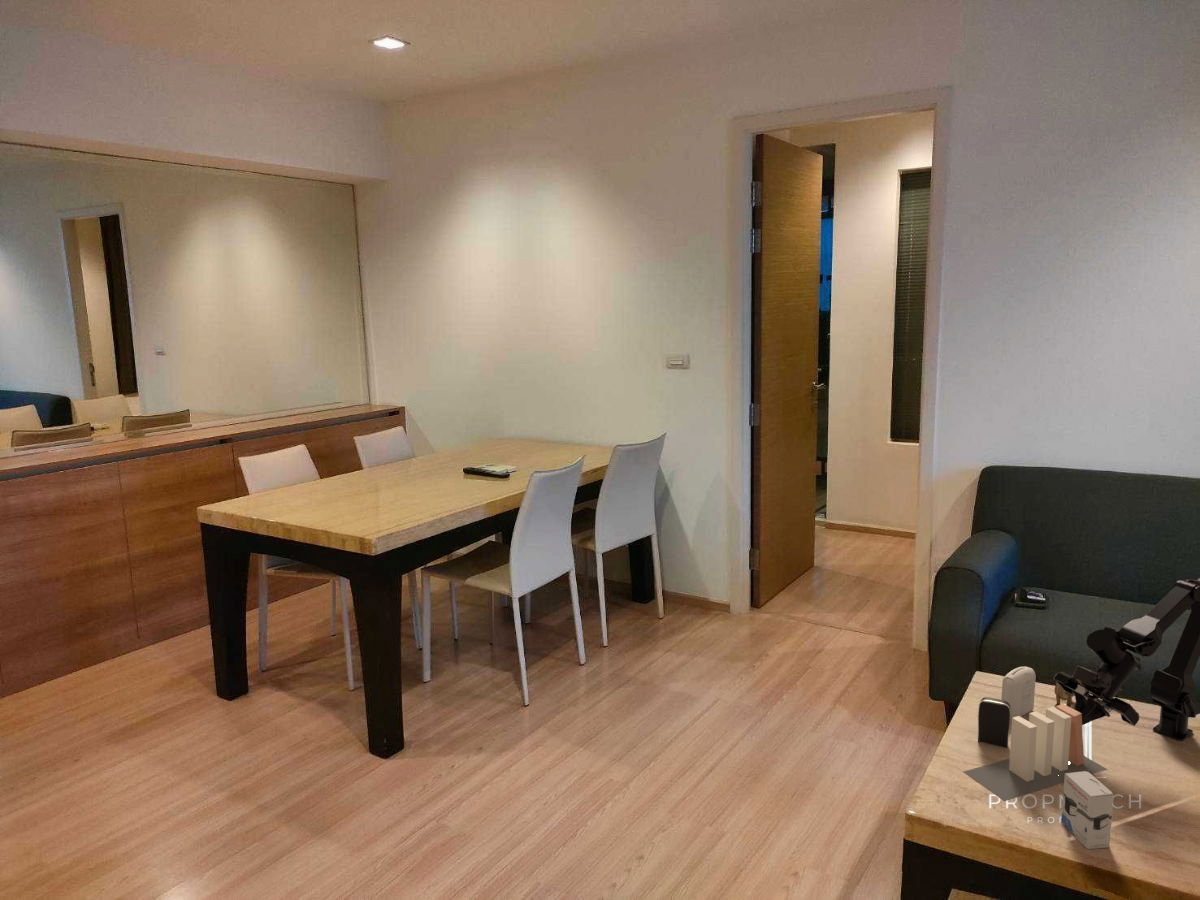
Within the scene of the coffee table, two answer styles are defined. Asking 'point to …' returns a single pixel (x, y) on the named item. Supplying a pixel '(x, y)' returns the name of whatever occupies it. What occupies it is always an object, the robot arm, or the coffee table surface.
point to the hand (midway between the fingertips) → (1073, 726)
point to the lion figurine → (1063, 695)
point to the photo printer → (1019, 690)
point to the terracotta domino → (1074, 735)
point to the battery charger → (994, 721)
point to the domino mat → (1014, 786)
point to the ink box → (1087, 809)
